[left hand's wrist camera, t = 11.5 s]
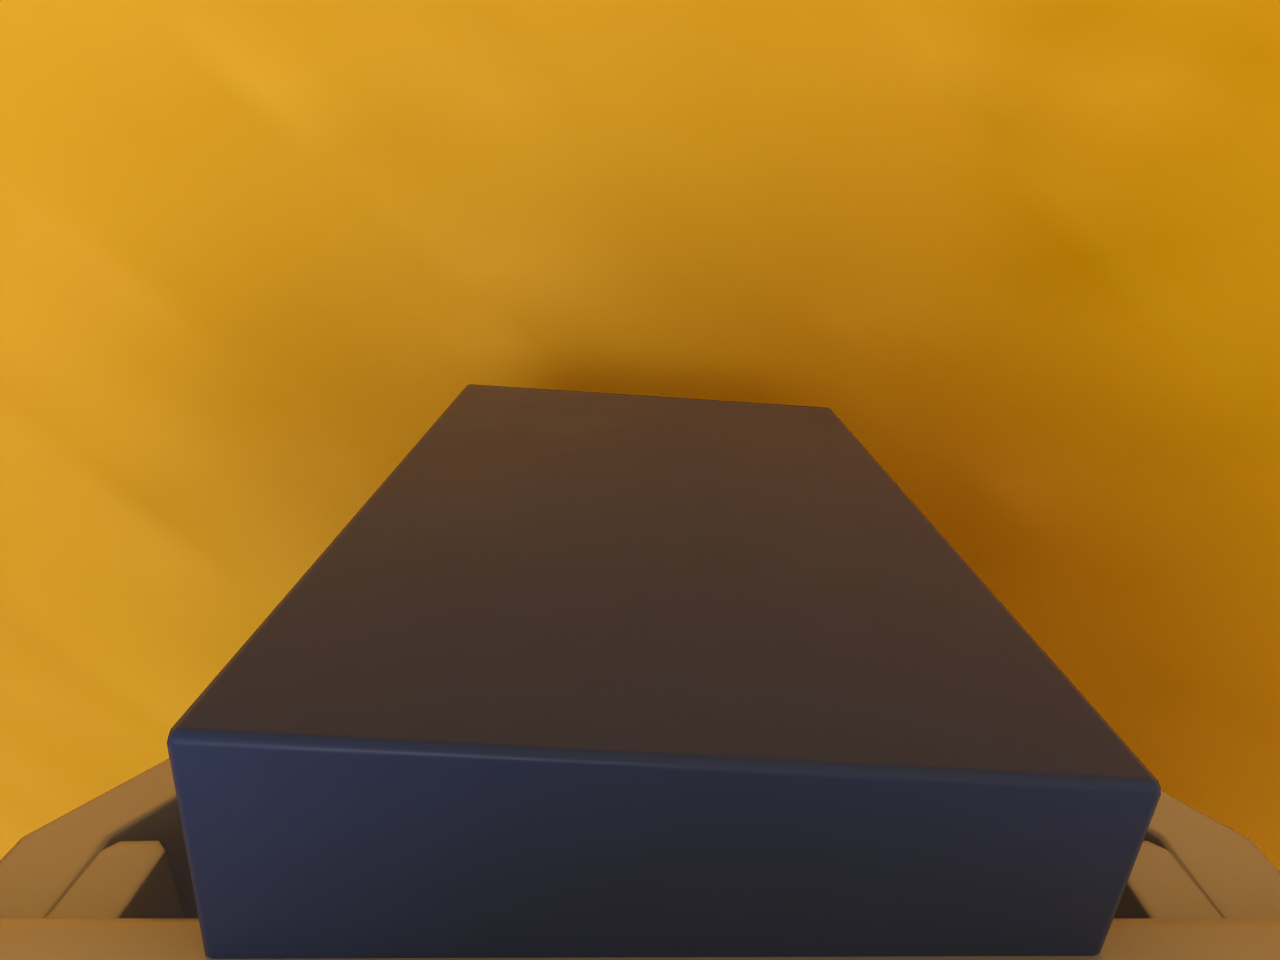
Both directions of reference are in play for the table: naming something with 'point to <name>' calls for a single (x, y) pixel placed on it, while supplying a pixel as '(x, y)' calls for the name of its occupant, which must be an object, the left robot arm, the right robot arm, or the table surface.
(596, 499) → the bar
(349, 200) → the table surface
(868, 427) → the table surface
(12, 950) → the left robot arm
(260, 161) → the table surface
